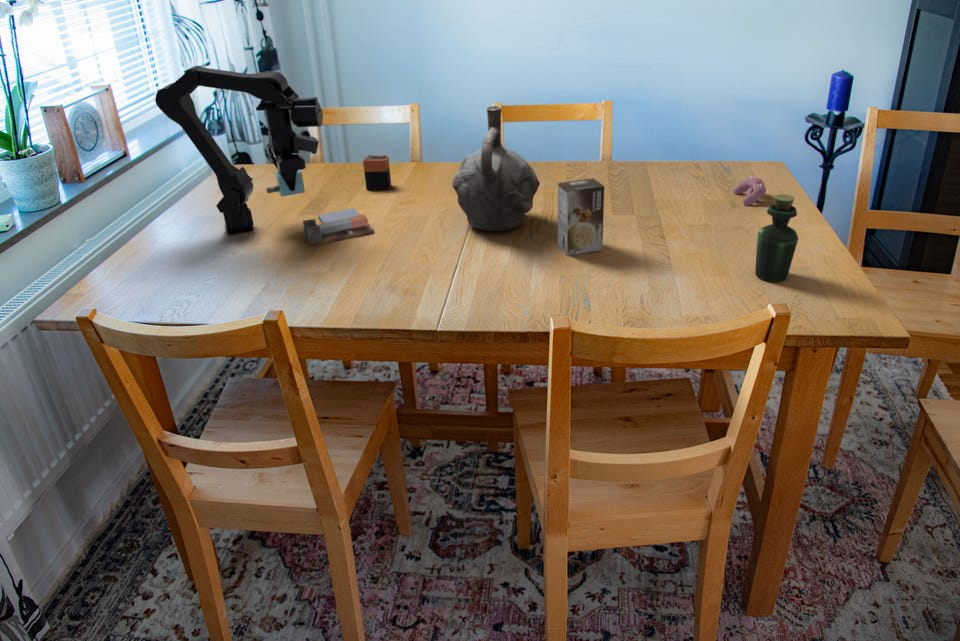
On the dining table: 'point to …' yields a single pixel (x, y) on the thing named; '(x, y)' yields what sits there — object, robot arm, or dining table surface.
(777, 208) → the potion bottle
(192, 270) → the dining table surface
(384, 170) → the battery
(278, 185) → the plug
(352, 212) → the mat
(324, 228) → the cutter lever
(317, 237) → the base
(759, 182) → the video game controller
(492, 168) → the vessel
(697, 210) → the dining table surface
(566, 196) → the coffee box
